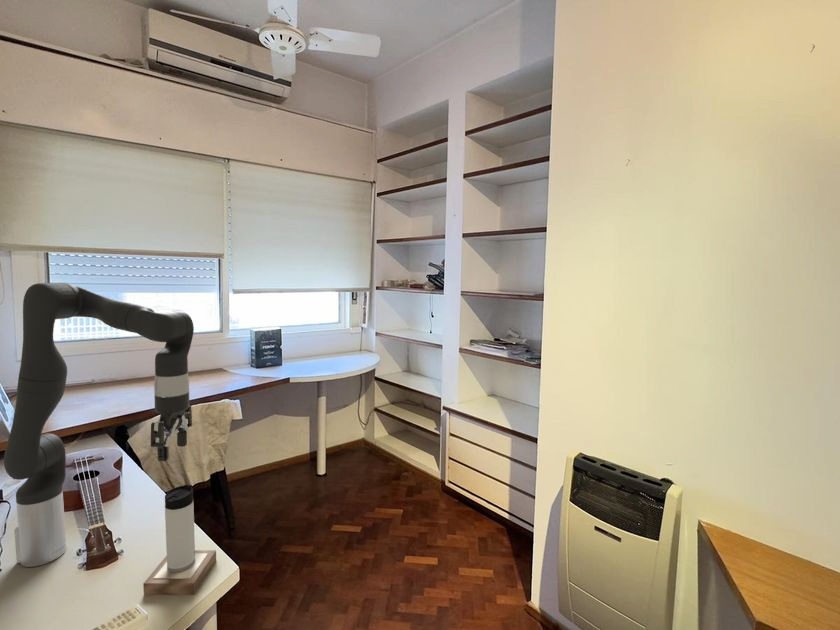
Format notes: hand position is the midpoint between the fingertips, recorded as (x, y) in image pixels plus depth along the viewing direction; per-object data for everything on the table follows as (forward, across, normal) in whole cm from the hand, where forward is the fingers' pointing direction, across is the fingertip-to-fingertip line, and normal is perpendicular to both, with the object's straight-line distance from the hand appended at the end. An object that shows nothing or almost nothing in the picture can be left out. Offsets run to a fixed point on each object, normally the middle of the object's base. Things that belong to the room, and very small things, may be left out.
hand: (173, 452), depth 106 cm
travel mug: (+29, +2, +3) cm, 29 cm away
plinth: (+32, +2, +3) cm, 32 cm away
